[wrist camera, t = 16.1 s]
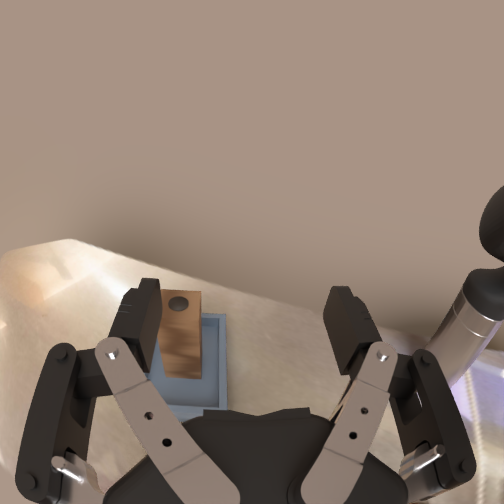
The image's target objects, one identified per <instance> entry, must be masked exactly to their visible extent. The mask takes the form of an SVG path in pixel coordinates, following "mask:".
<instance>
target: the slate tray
mask: <svg viewBox="0 0 504 504" xmlns="http://www.w3.org/2000/svg"><path fill="white" fill-rule="evenodd" d="M201 322H202V371H201V379H185V378H171V377H166V376H165V371H164V367H163V362H162V358H161V353H160V348H159V343H158V338H157V340H156V345H155V349H154V354H153V359H152V364H151V369H150V373H144V375H145V376H146V378H147V379H149V380H150V381H151V382H152V383H153V385H154V386H155V388H156V389H157V391H158V392H159V394H160V395H161V397H162V398H163V400H164V401H165V403H166V404H167V405H168V407H169V408H170V410H171V411H172V412H173V414H174V415H175V417H176V418H177V419H178V421H179V422H185V421H187V420H189V419H191V418H195V417H198V416H203V409H209V410H228V408H227V369H226V314H209V313H201Z"/></svg>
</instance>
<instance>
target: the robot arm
mask: <svg viewBox="0 0 504 504" xmlns="http://www.w3.org/2000/svg"><path fill="white" fill-rule="evenodd" d="M479 237H480V241H481V244H482V246H483V247H484V249H485V250H486V251H487V252H488V253H489V254H490V255H492V256H494V257H495V258H497V259H499V260H501V261H502V262H504V186H503V187H501V188H500V189H499V190H498V191H497V192H496V193H495V194H494V195H493V196H492V198H491V199H490V201H489V202H488V204H487V206H486V208H485V210H484V212H483V214H482V217H481V221H480V226H479ZM162 311H163V305H162V297H161V290H160V283H159V279H154V278H142V279H141V282H140V284H139V287H138V289H137V288H131V289H130V290H129V291H128V292H127V293H126V294H125V295H124V296H123V299H122V301H121V305H120V306H119V309H118V312H117V314H116V317H115V319H114V322H113V324H112V327H111V330H110V332H109V335H108V338H105V339H103V340H102V341H100V342H99V343H98V345H97V346H96V348H93V349H87V350H80V351H76V349H75V348H74V347H73V346H72V345H71V344H69V343H60V344H57V345H55V346H54V347H52V348H51V349H50V351H49V353H48V355H47V358H46V360H45V363H44V366H43V369H42V371H41V374H40V377H39V380H38V383H37V386H36V389H35V392H34V396H33V399H32V402H31V406H30V409H29V413H28V416H27V420H26V424H25V428H24V432H23V437H22V441H21V446H20V451H19V456H18V461H17V467H16V474H15V482H16V486H17V488H18V490H19V492H20V493H21V494H22V495H23V496H24V497H25V498H26V499H28V500H30V501H33V502H35V503H38V504H409V503H412V502H414V501H417V500H421V501H424V500H427V499H430V498H432V497H435V496H437V495H440V494H442V493H444V492H447V491H449V490H451V489H453V488H455V487H458V486H460V485H462V484H464V483H466V482H468V481H469V480H471V479H472V478H473V476H474V474H475V472H476V460H475V457H474V454H473V450H472V447H471V444H470V441H469V438H468V435H467V432H466V429H465V426H464V423H463V421H462V418H461V415H460V413H459V410H458V407H457V405H456V402H455V400H454V397H453V395H452V393H451V390H450V388H451V387H452V386H453V385H454V384H455V383H456V382H457V381H458V380H459V378H460V377H461V376H462V375H463V374H464V373H465V372H466V371H467V369H468V368H469V367H470V366H471V365H472V363H473V362H474V361H475V360H476V358H477V357H478V356H479V355H480V353H481V352H482V351H483V349H484V348H485V347H486V346H487V344H488V343H489V341H490V340H491V339H492V337H493V336H494V335H495V333H496V331H497V330H498V329H499V327H500V326H501V324H502V323H503V321H504V266H503V267H501V268H497V269H476V270H473V271H471V272H470V273H469V275H468V277H467V278H466V280H465V282H464V284H463V286H462V288H461V290H460V292H459V293H458V295H457V297H456V299H455V301H454V303H453V304H452V306H451V308H450V309H449V311H448V313H447V314H446V316H445V318H444V319H443V321H442V323H441V324H440V326H439V327H438V329H437V331H436V332H435V334H434V335H433V337H432V338H431V340H430V341H429V343H428V344H427V345H426V347H425V348H424V349H419V350H417V351H416V352H415V353H414V354H413V355H412V356H408V355H403V354H398V353H397V352H396V350H395V349H394V348H393V347H392V346H391V345H390V344H388V343H386V342H383V341H382V339H381V337H380V334H379V332H378V330H377V328H376V326H375V324H374V322H373V320H372V319H371V316H370V314H369V313H368V312H369V311H368V309H367V307H366V306H365V304H364V303H363V302H362V301H361V300H360V299H359V298H358V297H354V296H353V294H352V292H351V290H350V288H349V287H348V286H333V287H332V288H331V290H330V294H329V296H328V299H327V302H326V305H325V308H324V312H323V319H324V324H325V327H326V330H327V333H328V336H329V339H330V342H331V345H332V348H333V352H334V355H335V358H336V361H337V365H338V368H339V371H340V374H341V375H350V378H351V379H350V380H349V382H348V384H347V386H346V388H345V390H344V392H343V394H342V396H341V398H340V400H339V402H338V404H337V406H336V407H335V409H334V411H333V413H332V414H331V416H330V417H329V419H328V420H327V419H325V418H323V417H320V416H317V415H313V414H310V409H309V407H307V408H295V409H283V410H280V411H276V412H273V413H269V414H265V415H261V416H254V415H249V414H244V413H240V412H236V411H231V410H209V409H203V416H198V417H195V418H191V419H189V420H187V421H185V422H183V423H180V422H179V421H178V419H177V418H176V417H175V415H174V414H173V412H172V411H171V410H170V408H169V407H168V405H167V404H166V403H165V401H164V400H163V398H162V397H161V395H160V394H159V392H158V391H157V389H156V388H155V386H154V385H153V383H152V382H151V381H150V380H149V379H147V378H146V376H145V375H144V373H150V369H151V364H152V359H153V354H154V349H155V345H156V340H157V335H158V331H159V327H160V322H161V318H162ZM416 392H418V395H419V398H420V400H421V403H422V407H421V404H420V401H419V398H418V396H417V393H416ZM108 395H114V397H115V399H116V401H117V403H118V405H119V407H120V409H121V411H122V413H123V414H124V416H125V418H126V420H127V421H128V423H129V425H130V427H131V428H132V430H133V432H134V433H135V435H136V437H137V438H138V440H139V441H140V443H141V445H142V446H143V448H144V449H145V451H146V452H147V455H146V456H145V457H144V458H143V459H142V460H141V461H140V462H139V463H137V464H136V465H135V466H134V467H133V468H132V469H131V470H130V471H129V472H127V473H126V474H125V475H124V476H123V477H122V478H121V479H120V480H118V481H117V482H116V483H115V484H114V485H113V486H111V487H110V488H109V490H108V491H107V492H106V494H104V493H103V492H102V491H101V489H100V487H99V485H98V480H97V474H96V472H95V470H94V468H93V467H92V466H91V465H90V464H88V463H87V462H86V460H87V452H88V445H89V438H90V431H91V425H92V419H93V414H94V408H95V403H96V398H97V397H100V396H108ZM388 400H389V401H390V405H391V408H392V411H393V415H394V418H395V422H396V426H397V429H398V433H399V437H400V441H401V445H402V449H403V453H404V458H403V459H402V461H401V465H400V469H399V474H397V473H396V472H395V471H393V470H392V469H391V468H389V467H388V466H387V465H385V464H384V463H383V462H381V461H380V460H379V459H377V458H376V457H375V456H374V455H372V454H371V453H370V452H368V451H369V448H370V446H371V444H372V442H373V439H374V437H375V434H376V432H377V429H378V427H379V424H380V422H381V419H382V417H383V414H384V411H385V408H386V406H387V403H388Z"/></svg>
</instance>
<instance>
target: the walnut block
mask: <svg viewBox="0 0 504 504" xmlns="http://www.w3.org/2000/svg"><path fill="white" fill-rule="evenodd" d="M161 297H162V305H163V311H162V318H161V322H160V327H159V331H158V335H157V338H158V343H159V348H160V353H161V358H162V362H163V367H164V371H165V376H166V377H171V378H185V379H201V371H202V322H201V291H183V290H166V289H161Z"/></svg>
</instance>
